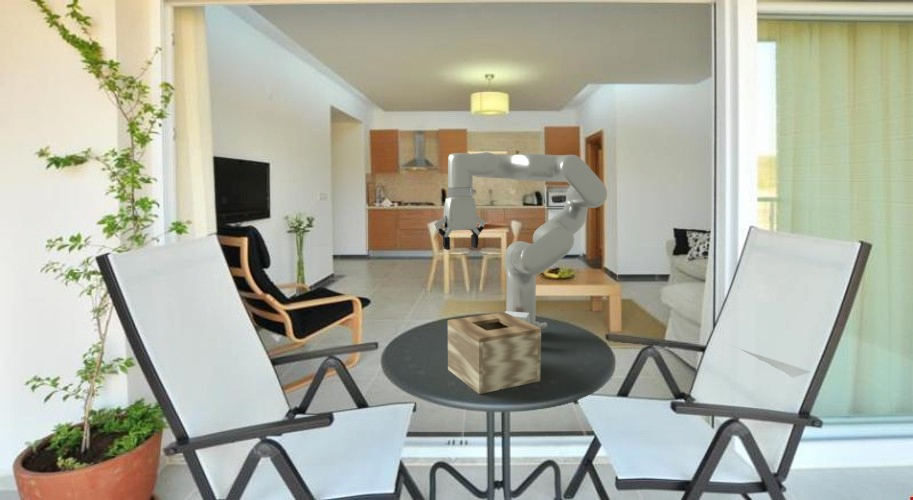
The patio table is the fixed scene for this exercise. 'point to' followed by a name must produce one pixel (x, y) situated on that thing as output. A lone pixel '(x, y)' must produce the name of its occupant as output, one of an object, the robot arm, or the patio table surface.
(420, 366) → the patio table surface
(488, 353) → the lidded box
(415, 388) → the patio table surface
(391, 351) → the patio table surface
